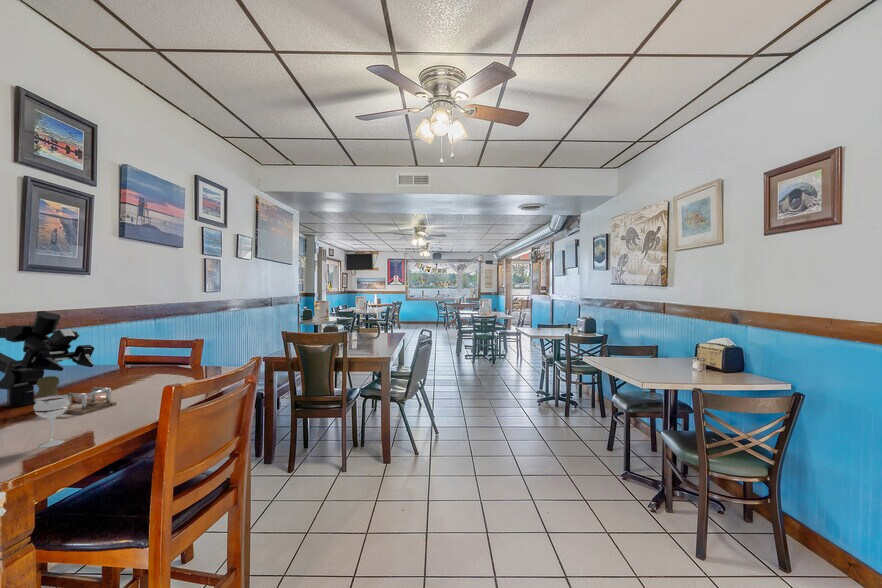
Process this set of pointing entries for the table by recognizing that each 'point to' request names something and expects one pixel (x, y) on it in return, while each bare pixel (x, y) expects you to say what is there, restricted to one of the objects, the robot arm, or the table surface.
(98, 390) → the silver twin cylinder holder
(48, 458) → the table surface
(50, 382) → the olive green tapered cylinder
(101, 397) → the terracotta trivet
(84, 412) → the base
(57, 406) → the wineglass
